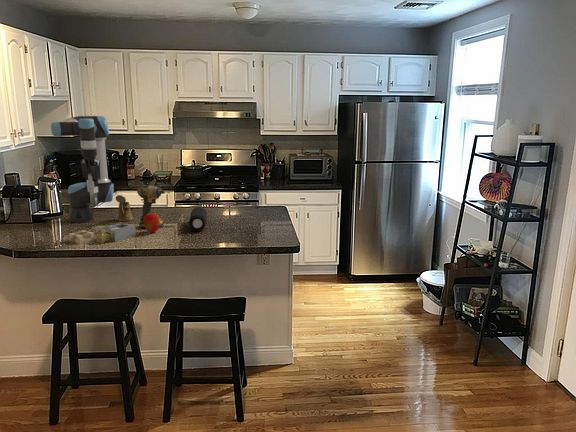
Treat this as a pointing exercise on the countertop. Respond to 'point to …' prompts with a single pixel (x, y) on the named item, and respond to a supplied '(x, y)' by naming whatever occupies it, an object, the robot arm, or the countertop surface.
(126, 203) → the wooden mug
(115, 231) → the socket block
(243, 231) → the countertop surface
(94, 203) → the rod
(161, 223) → the cordless drill
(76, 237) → the wooden square frame
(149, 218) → the apple
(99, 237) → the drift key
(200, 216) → the portable speaker
